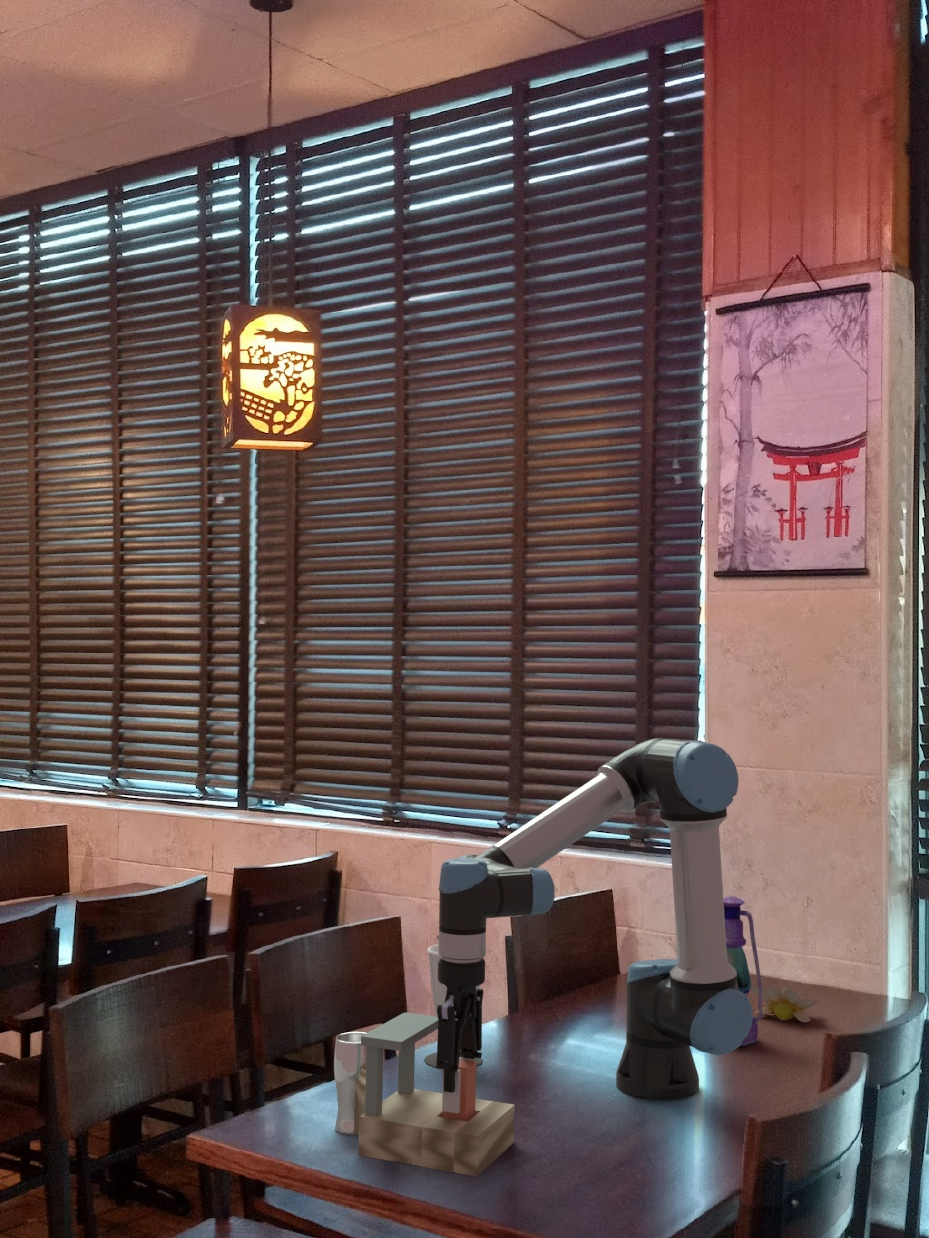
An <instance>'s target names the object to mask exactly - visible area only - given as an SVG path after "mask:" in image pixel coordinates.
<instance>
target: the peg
mask: <svg viewBox="0 0 929 1238" xmlns="http://www.w3.org/2000/svg"><path fill="white" fill-rule="evenodd" d="M458 1070H461V1084H460V1112H459V1113H452V1112H445V1111H442V1117H443V1118H449V1119H455V1120H461V1121H467V1122H468V1121H469V1120H470V1119H472V1118H473V1117H474V1116H475V1099H477V1098H476V1093H477V1091H476V1089H477V1088H476V1087H477V1067H476V1062H474V1061H467V1060H460V1059H459V1065H458Z"/></svg>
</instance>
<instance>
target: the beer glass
mask: <svg viewBox="0 0 929 1238" xmlns="http://www.w3.org/2000/svg"><path fill="white" fill-rule="evenodd" d="M366 1033H367V1032H364V1031H362V1032H361V1031H349V1032H344V1033H340V1034H337V1035H336V1036H335V1046H334V1047H335V1048H334V1058H333V1060H334V1061H333V1072H334V1075H333V1076H334V1081H335V1089H336V1095H337V1115H336V1122H335V1128H334V1129H335V1131H336V1132H337V1133H339V1134H341V1135H344V1136H345V1135H346V1136H359V1116H360V1115H362V1114H363V1113H365V1092H366V1050H367V1046H362V1045H361V1036H362V1035H364V1034H366Z"/></svg>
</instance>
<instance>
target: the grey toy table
mask: <svg viewBox="0 0 929 1238" xmlns="http://www.w3.org/2000/svg"><path fill="white" fill-rule="evenodd" d="M435 1031H438V1017H436V1016H435V1015H427V1014H419V1013H412V1012H403V1013H401V1014H399V1015H397V1016H395V1017H393V1018H392V1019H390V1020H389V1021H386V1022H385V1023H383V1024H380V1025H379V1026H378V1027H375V1028H373V1029H372V1030H370V1031H368V1032H365V1033H366V1034H364V1035H362V1036H361V1045H362V1046H367V1050H366V1092H365V1115H369V1116H375V1117H377V1116H378V1115H380V1114H381V1113H382V1101H383V1093H384V1092H383V1089H384V1087H383V1083H384V1050H390V1051H391V1050H392V1051H397V1052H398V1066H397V1068H398V1070H397V1071H398V1073H397V1074H398V1075H397V1076H398V1078H397V1091H398V1093H403V1094H410V1093H412V1092H413V1091H414V1089H415V1060H416V1057H415V1055H416V1054H415V1053H416V1052H415V1051H416V1048H415V1047H416V1043H418V1042H419V1041H420V1040H422V1039H423V1038H425V1037H427V1036H429V1035H430V1034H432V1033H433V1032H435Z"/></svg>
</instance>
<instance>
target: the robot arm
mask: <svg viewBox="0 0 929 1238" xmlns="http://www.w3.org/2000/svg"><path fill="white" fill-rule="evenodd" d="M737 769H738V768H737V767H736V764H735V762H734V760H733V758H732V757H731V756H730V754H729V753H727V752H726V751H725V750H724V748H722V747H720V746H719V745H717V744H714V743H709V742H705V741H703V740H694V739H679V738H678V739H677V738H670V737H668V738H667V737H656V738H655V737H654V738H652V739H647V740H645V741H641V742H640V743H638V744H636V745H633V746H632V747H630V748H628V749H625V751H623V752H622V753H620V754H618V755H617V756H614V757H613V758H612V759H610V760H608V761H607V762H605V763H604V764H603V765H601V766H600V767H599V768H598V769H597V771H596V776H595V777H593V778H592V779H591V780H590V779H589V781H587V782H586V783H584V784H583V785H582V786H580V787H579V788H577V789H575V790H574V791H573V792H571V793H569V794H568V795H566V796H565V797H564V798H562V799H560V800H559V801H557V802H556V803H554V804H553V805H552V806H549V808H547V809H546V810H544V811H542V812H541V813H540V814H538V815H536V816H535V817H534V818H532V819H530V820H529V821H527V822H525V823H524V824H522V826H520V827H519V828H517V829H516V830H514V831H513V832H511V833H509V834H508V835H507V836H505V837H503V838H502V839H500V840H499V841H497V842H496V843H495V844H493V845H492V846H490V847H488V848H487V849H486V850H484V851H482V852H481V853H479V854H467V855H462V856H459V857H455V858H448V859H446V860H445V861H443V862H442V864H441V866H440V867H441V868H440V874H439V884H438V892H439V901H438V903H439V904H438V905H439V912H438V913H439V914H438V915H439V918H438V921H439V922H438V923H439V927H438V933H437V935H436V939H437V940H438V944H439V955H440V956H441V958H440V959H439V960H438V981H439V982H440V983H441V984H444V985H445V986H446V987H447V992H446V997H445V1004H444V1005H438V1007H437V1014H438V1029H437V1047H436V1050H437V1051H436V1053H437V1068H436V1069H437V1070H440V1071H442V1092H441V1093H442V1111H445V1112H452V1113H459V1112H460V1084H461V1070H458V1065H459V1059H460V1060H467V1061H474V1062H476V1059H475V1058H481V1059H482V1055H483V1053H482V1052H481V1051H482V1047H483V1046H482V1045H483V1041H482V1040H483V1035H482V1034H483V999H484V989H483V988H479V989H478V988H476V986H479V985H480V986H481V985H482V984H484V983H485V980H486V961H485V959H484V957H485V956H486V954H487V920H488V919H494V918H508V917H510V918H511V917H523V916H524V917H525V916H529V917H532V916H535V915H540V914H545V913H547V912H549V911H550V910H551V908H552V907H553V905H554V901H555V896H556V895H555V894H556V893H555V892H556V891H555V887H556V886H555V883H554V880H553V877H552V875H551V874H550V872H549V871H548V870H547V869H545V868H543V867H540V866H542V865H544V864H545V863H546V862H548V861H550V860H551V859H553V858H554V857H556V856H557V855H558V854H560V853H561V852H563V851H564V850H565V849H568V848H569V846H571V845H573V844H575V843H576V842H577V841H578V840H580V839H582V838H583V837H585V836H586V835H588V834H589V833H590V832H591V831H593V830H594V829H597V828H598V827H600V826H601V825H602V824H603V823H605V822H606V821H608V820H609V819H611V818H612V817H614V816H616V815H617V814H618V813H620V812H621V813H630V812H632V811H633V810H635V809H636V808H637V807H639V806H642V805H644V804H649V803H658V804H659V805H658V807H659V819H660V821H661V822H662V823H664V824H665V826H667V827H668V829H669V837H670V838H669V839H670V841H669V842H670V855H671V857H670V858H671V870H672V872H671V873H672V888H673V890H672V891H673V901H674V902H673V903H674V904H673V905H674V919H675V920H674V921H675V939H676V951H677V959H673V958H671V959H668V958H664V959H663V958H661V959H644V960H639V961H635V962H633V963H631V964H630V965H629V966H628V970H627V978H626V982H625V984H626V1036H625V1037H626V1039H625V1040H626V1041H625V1045H624V1048H623V1052H622V1054H621V1058H620V1060H619V1064H618V1067H617V1069H616V1073H615V1077H616V1078H615V1086H616V1087H617V1088H618V1089H619V1090H621V1091H622V1092H623V1093H626V1094H629V1095H631V1096H633V1097H634V1096H635V1097H639V1098H643V1099H650V1100H651V1099H652V1100H662V1101H664V1100H667V1101H670V1100H681V1099H686V1098H690V1097H693V1096H695V1095H696V1094H698V1093H699V1091H700V1076H699V1073H698V1070H697V1065H696V1063H695V1059H694V1057H693V1053H692V1049H691V1047H693V1048H694V1049H695V1050H697V1051H699V1052H701V1053H707V1054H711V1055H713V1056H722V1055H723V1056H725V1055H727V1054H730V1053H732V1052H734V1051H735V1050H737V1049H739V1047H741V1046H740V1045H741V1044H742V1042H743V1040H744V1038H746V1037H747V1035H748V1033H749V1031H750V1029H751V1025H752V1020H753V1017H754V1012H753V1011H754V1010H753V1006H752V1004H751V1001H750V999H749V998H748V997H747V996H745V995H744V994H743V992H740V991H739V990H738V984H737V972H736V970H735V969H734V968H733V967H732V966H731V965H730V964H729V963H728V962H727V949H726V933H725V917H724V901H723V898H724V887H723V872H722V856H721V855H722V854H721V839H720V827H721V824H722V823H723V822H725V820H726V819H727V818H728V813H727V812H728V811H727V810H728V809H727V808H728V807H729V806H730V805H731V804H732V803H733V801H734V797H735V796H737V793H738V790H739V773H738V770H737ZM455 1019H457V1020H455ZM460 1049H461V1056H464V1058H463V1057H460ZM459 1057H460V1058H459Z"/></svg>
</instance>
